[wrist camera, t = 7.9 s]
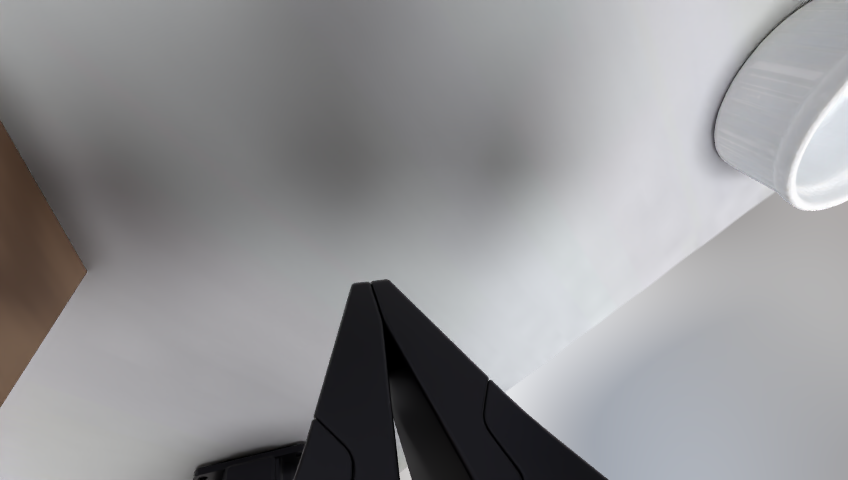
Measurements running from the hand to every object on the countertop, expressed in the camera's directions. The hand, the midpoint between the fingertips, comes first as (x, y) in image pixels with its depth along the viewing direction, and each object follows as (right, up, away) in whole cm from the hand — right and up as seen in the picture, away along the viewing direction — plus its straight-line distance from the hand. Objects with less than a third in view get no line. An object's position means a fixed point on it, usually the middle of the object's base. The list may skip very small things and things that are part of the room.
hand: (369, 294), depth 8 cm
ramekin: (+19, +9, +9) cm, 22 cm away
